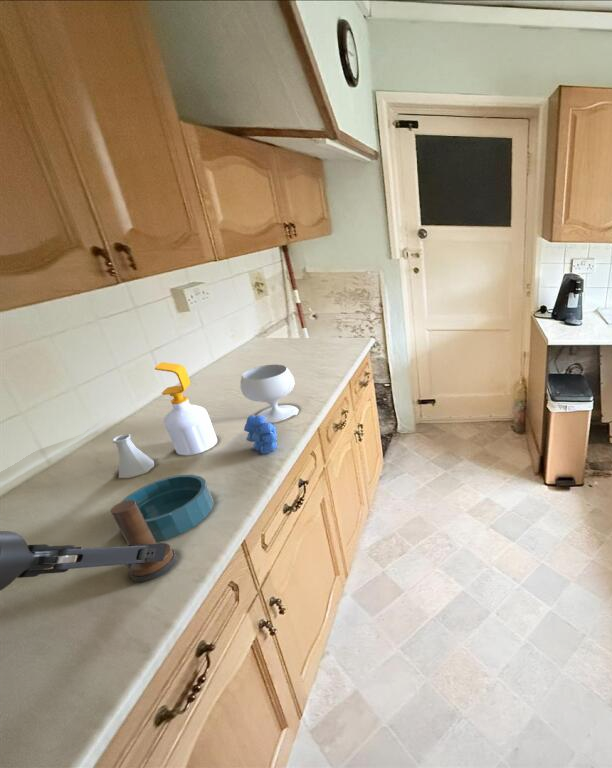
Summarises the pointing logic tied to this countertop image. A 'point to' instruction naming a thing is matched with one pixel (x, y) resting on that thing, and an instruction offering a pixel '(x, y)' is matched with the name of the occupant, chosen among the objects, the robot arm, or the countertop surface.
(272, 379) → the chalice
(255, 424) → the grapes
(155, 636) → the countertop surface
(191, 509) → the bowl
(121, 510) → the dish brush
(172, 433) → the soap bottle
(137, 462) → the flask
